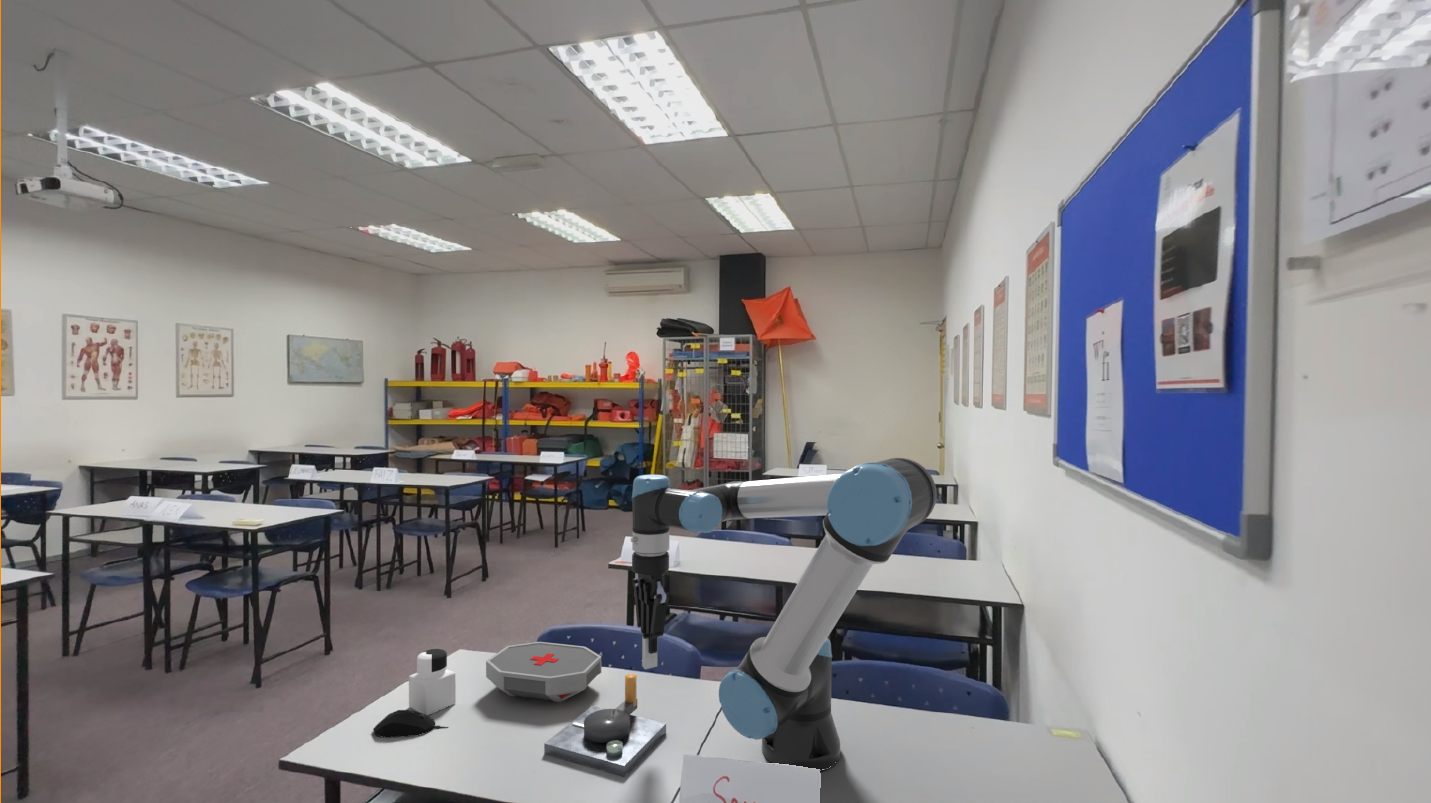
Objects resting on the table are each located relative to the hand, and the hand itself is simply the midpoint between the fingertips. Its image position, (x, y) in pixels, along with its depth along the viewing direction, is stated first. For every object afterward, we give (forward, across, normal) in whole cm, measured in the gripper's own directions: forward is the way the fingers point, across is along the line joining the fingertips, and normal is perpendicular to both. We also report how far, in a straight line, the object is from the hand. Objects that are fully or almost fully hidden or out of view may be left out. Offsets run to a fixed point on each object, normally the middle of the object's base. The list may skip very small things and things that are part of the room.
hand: (649, 666), depth 128 cm
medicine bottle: (+15, -35, -36) cm, 53 cm away
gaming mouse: (+15, -27, -41) cm, 52 cm away
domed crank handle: (+11, -3, -6) cm, 13 cm away
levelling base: (+14, -1, -9) cm, 16 cm away
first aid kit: (+15, -30, -13) cm, 36 cm away
